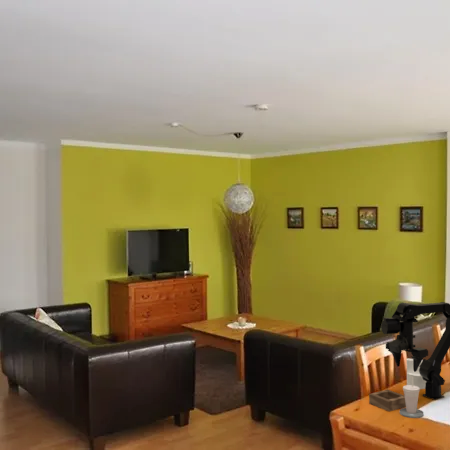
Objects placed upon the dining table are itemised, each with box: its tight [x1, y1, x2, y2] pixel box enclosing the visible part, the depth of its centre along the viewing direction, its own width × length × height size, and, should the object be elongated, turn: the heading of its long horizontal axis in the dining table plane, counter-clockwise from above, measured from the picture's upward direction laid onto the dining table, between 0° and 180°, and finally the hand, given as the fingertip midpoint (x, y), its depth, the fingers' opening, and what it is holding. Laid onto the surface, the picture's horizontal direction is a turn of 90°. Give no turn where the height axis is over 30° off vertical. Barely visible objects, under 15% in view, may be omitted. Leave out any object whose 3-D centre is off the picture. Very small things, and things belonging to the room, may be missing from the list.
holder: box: [368, 389, 406, 412], centre depth 224 cm, size 11×11×4 cm
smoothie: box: [402, 377, 421, 413], centre depth 214 cm, size 6×6×14 cm
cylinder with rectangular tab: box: [406, 358, 426, 390], centre depth 249 cm, size 9×9×12 cm
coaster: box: [399, 407, 424, 419], centre depth 214 cm, size 9×9×1 cm
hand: (406, 368), depth 231 cm, fingers open, 9 cm apart
